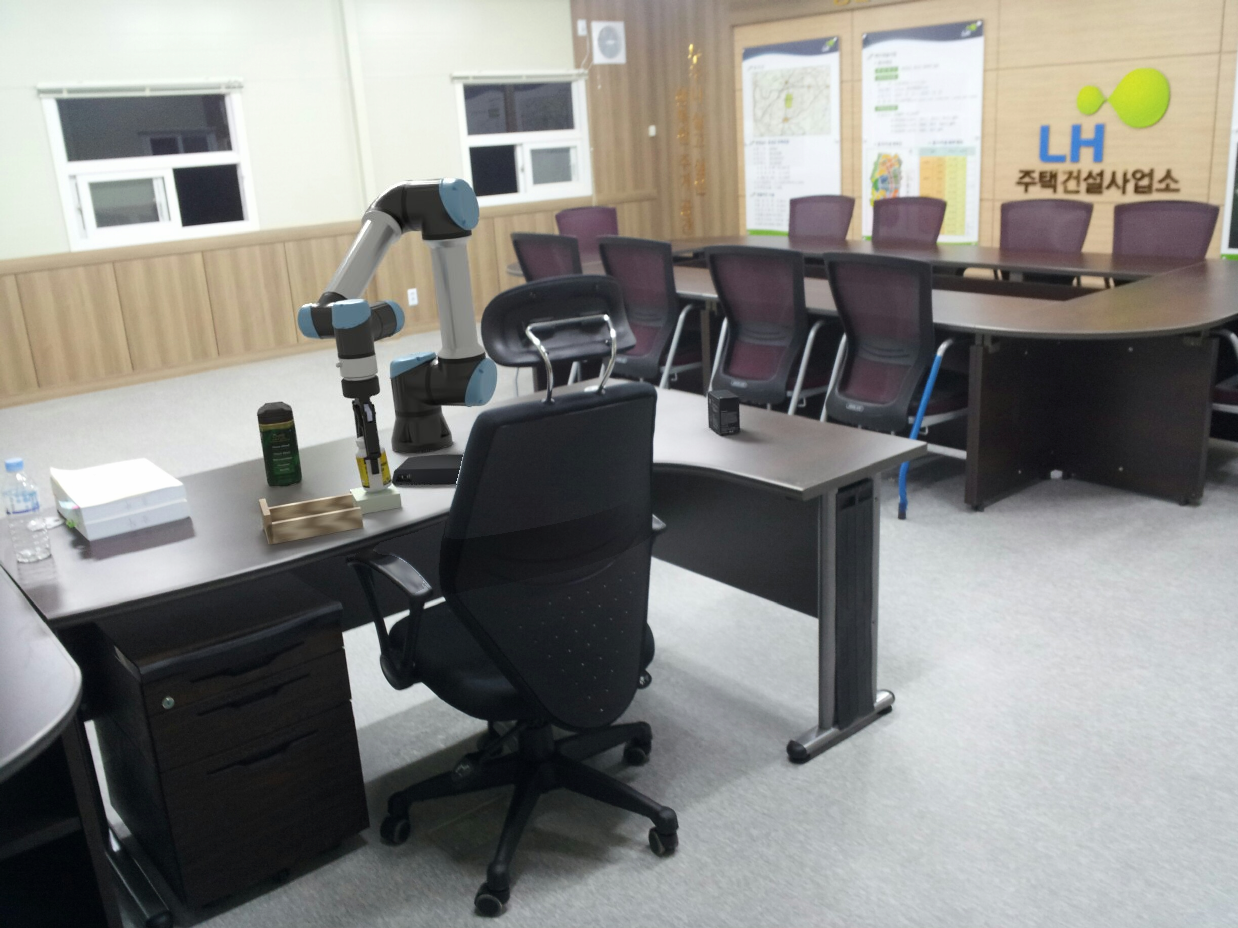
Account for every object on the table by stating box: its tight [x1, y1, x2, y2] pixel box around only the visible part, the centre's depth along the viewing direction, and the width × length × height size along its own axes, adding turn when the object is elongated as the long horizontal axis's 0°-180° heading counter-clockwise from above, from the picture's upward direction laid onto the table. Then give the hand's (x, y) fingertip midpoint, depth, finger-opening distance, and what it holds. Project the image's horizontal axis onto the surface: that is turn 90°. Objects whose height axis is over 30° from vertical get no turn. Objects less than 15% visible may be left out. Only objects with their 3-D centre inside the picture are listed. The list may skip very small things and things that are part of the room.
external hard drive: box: [391, 453, 464, 486], centre depth 246 cm, size 13×19×4 cm
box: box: [707, 389, 741, 436], centre depth 268 cm, size 9×6×10 cm, turn 13°
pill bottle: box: [355, 436, 392, 492], centre depth 226 cm, size 6×6×11 cm
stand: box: [349, 484, 403, 515], centre depth 228 cm, size 9×9×3 cm
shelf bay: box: [258, 492, 364, 546], centre depth 217 cm, size 18×11×6 cm, turn 113°
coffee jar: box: [256, 401, 303, 488], centre depth 247 cm, size 10×8×19 cm
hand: (373, 483), depth 228 cm, fingers closed on pill bottle, 6 cm apart
